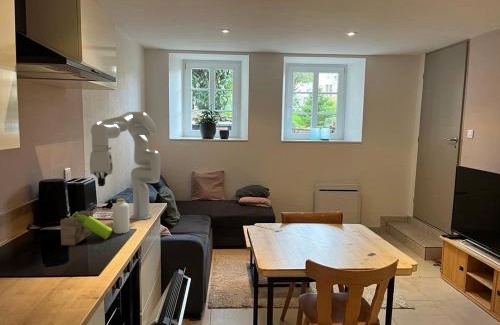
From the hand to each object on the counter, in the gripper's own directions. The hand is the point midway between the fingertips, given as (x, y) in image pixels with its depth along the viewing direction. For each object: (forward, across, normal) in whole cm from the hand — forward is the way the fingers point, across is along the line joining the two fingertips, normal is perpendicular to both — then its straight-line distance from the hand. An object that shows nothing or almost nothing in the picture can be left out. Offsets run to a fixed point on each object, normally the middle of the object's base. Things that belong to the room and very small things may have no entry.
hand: (101, 185), depth 179 cm
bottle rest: (+27, +13, +1) cm, 30 cm away
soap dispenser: (+25, -3, +1) cm, 25 cm away
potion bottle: (+28, -4, -12) cm, 30 cm away
